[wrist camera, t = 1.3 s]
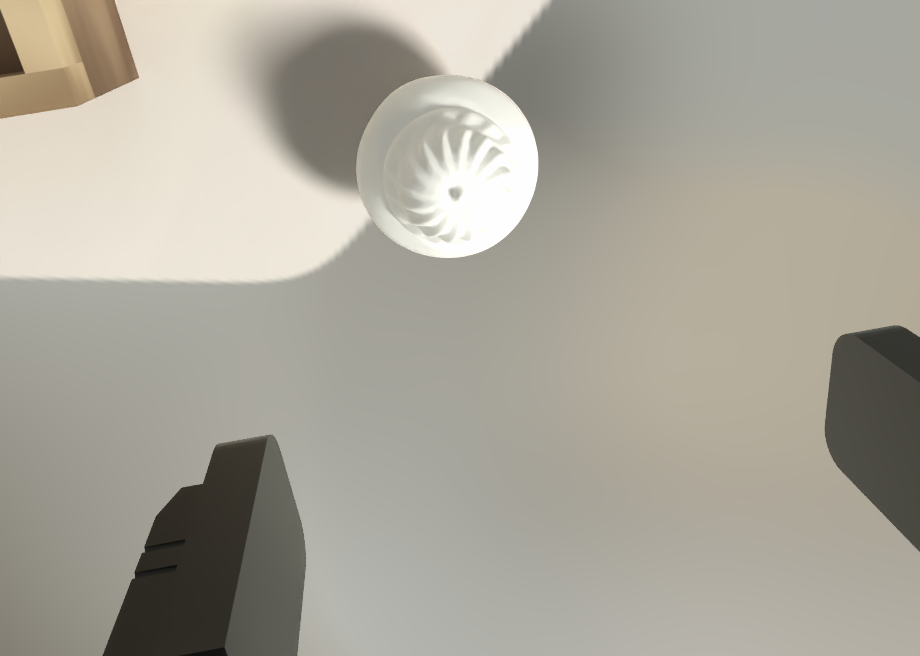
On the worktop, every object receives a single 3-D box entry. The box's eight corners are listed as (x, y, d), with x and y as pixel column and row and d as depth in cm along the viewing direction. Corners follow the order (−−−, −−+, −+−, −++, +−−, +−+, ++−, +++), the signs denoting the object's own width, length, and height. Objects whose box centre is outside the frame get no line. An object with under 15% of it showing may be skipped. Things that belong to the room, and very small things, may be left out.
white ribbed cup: (324, 116, 27) (312, 159, 20) (470, 28, 26) (505, 45, 20) (409, 254, 29) (422, 329, 23) (544, 178, 29) (595, 234, 22)
